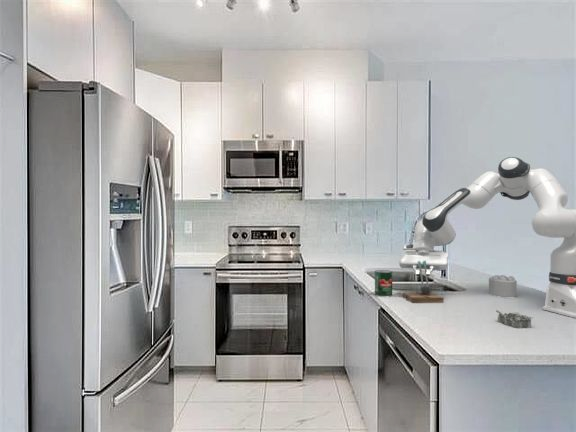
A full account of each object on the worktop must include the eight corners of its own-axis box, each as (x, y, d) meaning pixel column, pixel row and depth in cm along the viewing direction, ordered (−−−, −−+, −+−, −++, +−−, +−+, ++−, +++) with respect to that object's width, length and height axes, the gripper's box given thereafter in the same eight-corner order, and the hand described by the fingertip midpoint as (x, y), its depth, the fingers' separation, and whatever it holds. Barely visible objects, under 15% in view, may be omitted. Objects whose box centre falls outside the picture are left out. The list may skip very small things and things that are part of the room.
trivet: (443, 302, 185) (443, 297, 185) (413, 303, 185) (413, 297, 184) (431, 296, 198) (431, 291, 198) (402, 297, 197) (402, 291, 197)
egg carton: (494, 321, 155) (494, 309, 155) (513, 320, 156) (513, 309, 156) (514, 329, 145) (514, 316, 145) (535, 328, 146) (535, 315, 146)
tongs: (430, 293, 190) (426, 261, 190) (421, 294, 191) (417, 262, 191) (430, 292, 193) (426, 260, 193) (421, 292, 194) (417, 261, 194)
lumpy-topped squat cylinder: (508, 292, 210) (508, 274, 210) (522, 297, 197) (522, 278, 197) (486, 292, 210) (486, 274, 210) (498, 297, 197) (498, 278, 197)
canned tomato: (382, 292, 208) (382, 269, 208) (396, 295, 201) (396, 271, 201) (371, 294, 203) (371, 270, 203) (384, 297, 197) (384, 272, 196)
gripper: (447, 255, 199) (448, 280, 189) (400, 254, 205) (399, 278, 196) (448, 246, 194) (448, 271, 185) (400, 245, 201) (398, 270, 192)
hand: (422, 275), depth 191 cm, fingers closed on tongs, 3 cm apart
